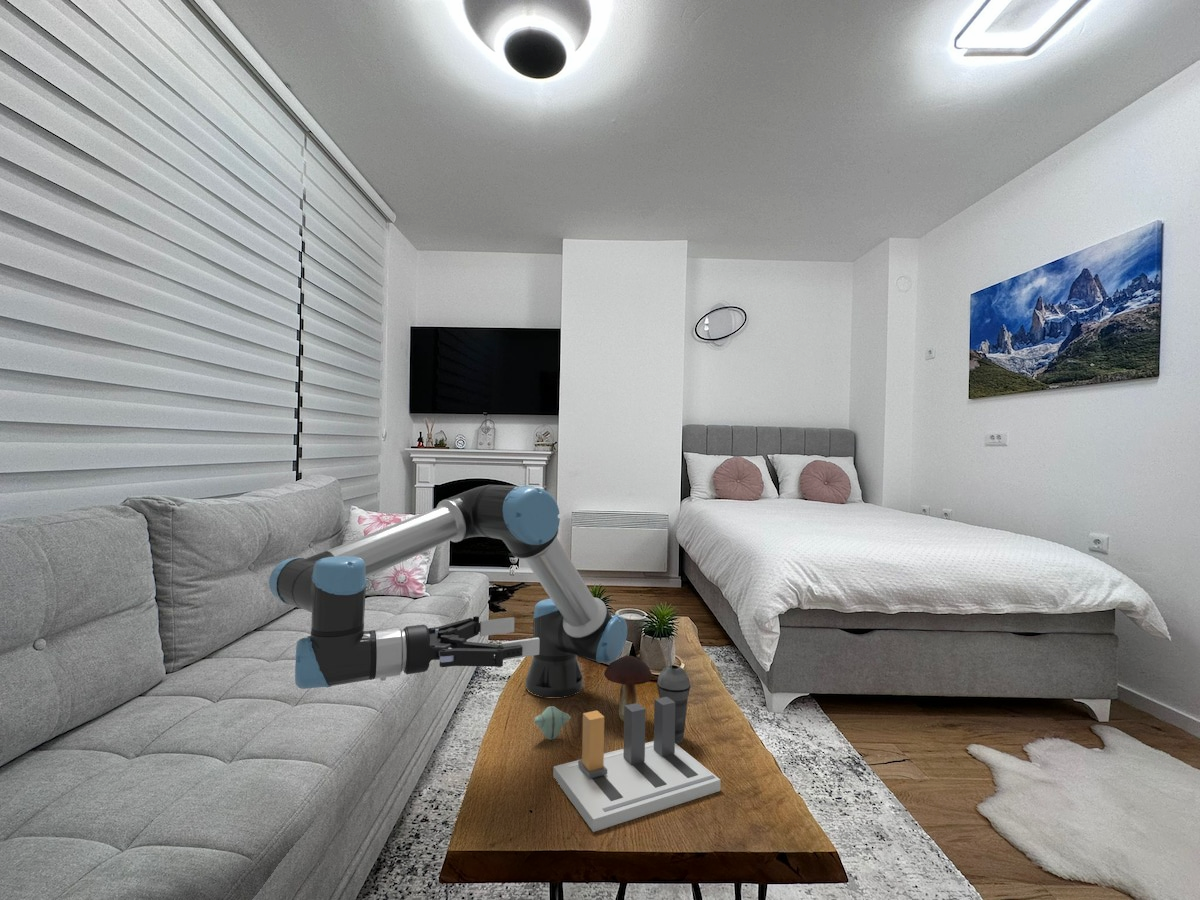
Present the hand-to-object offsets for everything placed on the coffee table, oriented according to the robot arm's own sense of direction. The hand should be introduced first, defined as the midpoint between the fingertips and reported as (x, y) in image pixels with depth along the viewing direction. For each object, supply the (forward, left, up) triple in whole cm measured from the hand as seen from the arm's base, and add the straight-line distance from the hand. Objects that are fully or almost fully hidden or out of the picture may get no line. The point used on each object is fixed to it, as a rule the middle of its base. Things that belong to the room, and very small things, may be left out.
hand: (525, 634), depth 99 cm
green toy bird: (-15, +12, -28) cm, 34 cm away
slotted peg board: (+7, +20, -28) cm, 35 cm away
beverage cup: (-4, +36, -28) cm, 46 cm away
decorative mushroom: (-15, +31, -28) cm, 44 cm away
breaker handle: (+3, +13, -26) cm, 29 cm away
